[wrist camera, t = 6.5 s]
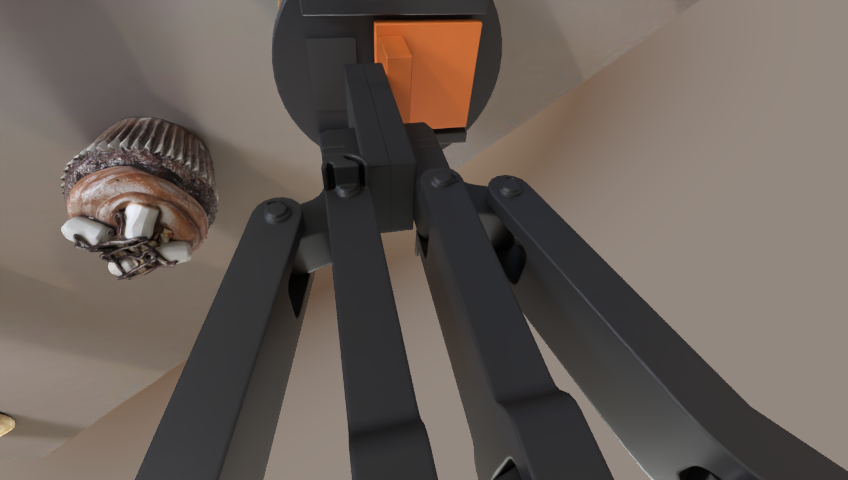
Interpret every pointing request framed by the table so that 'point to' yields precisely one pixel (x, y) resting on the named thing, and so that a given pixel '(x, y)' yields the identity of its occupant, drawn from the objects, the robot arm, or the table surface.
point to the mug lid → (363, 55)
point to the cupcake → (140, 196)
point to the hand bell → (6, 424)
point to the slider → (429, 67)
